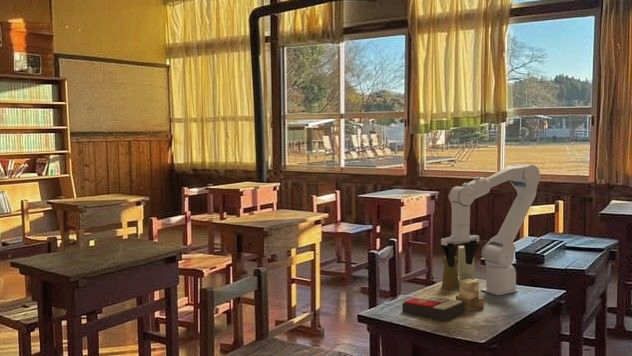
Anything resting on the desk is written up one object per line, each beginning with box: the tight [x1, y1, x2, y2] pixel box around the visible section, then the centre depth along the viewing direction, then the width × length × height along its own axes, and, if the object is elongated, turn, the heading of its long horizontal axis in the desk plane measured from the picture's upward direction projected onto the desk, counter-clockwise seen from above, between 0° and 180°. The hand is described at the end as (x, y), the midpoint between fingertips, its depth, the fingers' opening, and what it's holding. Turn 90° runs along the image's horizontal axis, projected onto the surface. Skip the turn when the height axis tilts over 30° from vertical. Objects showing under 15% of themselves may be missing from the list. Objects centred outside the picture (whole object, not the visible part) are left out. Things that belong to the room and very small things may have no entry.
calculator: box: [401, 294, 465, 323], centre depth 181 cm, size 11×4×15 cm
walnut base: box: [455, 294, 485, 312], centre depth 186 cm, size 6×6×4 cm
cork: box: [441, 255, 460, 290], centre depth 209 cm, size 6×6×11 cm
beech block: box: [459, 279, 480, 300], centre depth 185 cm, size 4×4×5 cm
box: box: [457, 245, 476, 283], centre depth 215 cm, size 5×4×13 cm
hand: (460, 265), depth 197 cm, fingers open, 7 cm apart
